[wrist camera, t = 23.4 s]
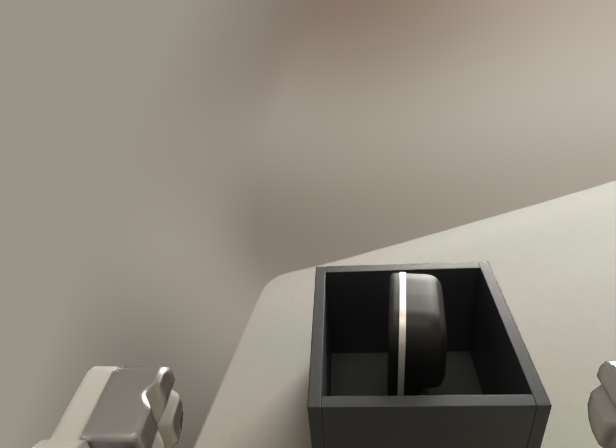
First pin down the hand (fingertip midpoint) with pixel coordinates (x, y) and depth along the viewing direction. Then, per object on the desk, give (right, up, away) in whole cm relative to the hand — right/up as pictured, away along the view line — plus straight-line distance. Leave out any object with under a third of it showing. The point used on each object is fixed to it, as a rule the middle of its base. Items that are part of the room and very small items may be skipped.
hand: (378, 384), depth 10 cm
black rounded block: (+7, -11, +29) cm, 32 cm away
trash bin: (+6, -12, +29) cm, 32 cm away
